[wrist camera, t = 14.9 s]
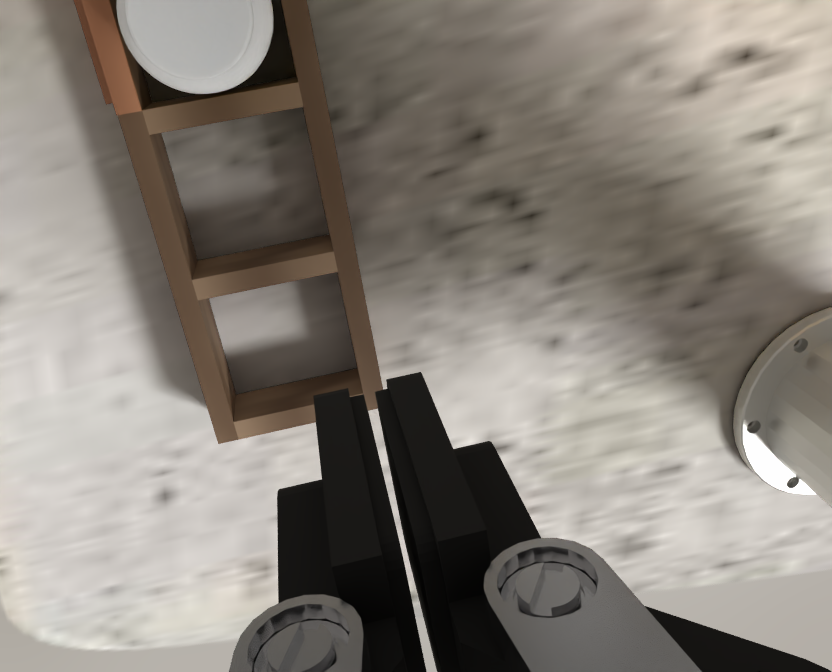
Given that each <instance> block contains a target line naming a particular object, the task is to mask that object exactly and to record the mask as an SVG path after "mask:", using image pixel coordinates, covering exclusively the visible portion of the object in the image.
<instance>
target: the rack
mask: <svg viewBox="0 0 832 672" xmlns="http://www.w3.org/2000/svg"><path fill="white" fill-rule="evenodd" d="M280 1H281V6H282V11H283V16H284V20H285V25H286V30H287V35H288V39H289V44H290V49H291V54H292V59H293V63H294V68H295V73H296V77H293V78H287V79H282V80H276V81H270V82H265V83H259V84H254V85H248V86H243V87H237V88H231V89H228V90H225V91H221V92H217V93H210V94H198V95H192V96H187V97H181V98H176V99H170V100H164V101H159V102H153V103H152V99H151V96H150V92H149V89H148V85H147V82H146V78H145V75H144V71H143V68H142V66H141V65H140V64H139V63H138V62H137V61H136V59H135V58H134V56H133V55H132V53H131V52H130V50H129V49H128V47H127V45H126V43H125V41H124V38H123V36H122V33H121V30H120V26H119V23H118V17H117V9H116V5H117V0H74V3H75V6H76V9H77V12H78V15H79V19H80V22H81V25H82V28H83V32H84V35H85V38H86V41H87V44H88V48H89V51H90V54H91V57H92V60H93V64H94V67H95V70H96V73H97V77H98V80H99V83H100V86H101V89H102V93H103V96H104V99H105V102H106V104H111V103H113V105H114V108H115V112H116V115H118V118H119V121H120V124H121V128H122V131H123V134H124V137H125V141H126V144H127V147H128V150H129V154H130V157H131V160H132V163H133V167H134V170H135V173H136V177H137V180H138V183H139V186H140V190H141V193H142V196H143V199H144V203H145V206H146V209H147V212H148V216H149V219H150V222H151V225H152V229H153V232H154V235H155V238H156V242H157V245H158V248H159V252H160V255H161V258H162V261H163V265H164V268H165V271H166V274H167V278H168V281H169V284H170V287H171V291H172V294H173V297H174V300H175V304H176V307H177V310H178V313H179V317H180V320H181V323H182V327H183V330H184V333H185V336H186V340H187V343H188V346H189V349H190V353H191V356H192V359H193V362H194V366H195V369H196V372H197V375H198V379H199V382H200V385H201V388H202V392H203V395H204V398H205V401H206V405H207V408H208V411H209V415H210V418H211V421H212V424H213V428H214V431H215V434H216V437H217V441H218V444H220V443H225V442H229V441H234V440H238V439H243V438H247V437H252V436H256V435H261V434H265V433H270V432H274V431H279V430H283V429H288V428H292V427H297V426H301V425H305V424H310V423H314V422H316V417H315V408H314V399H313V396H314V395H318V394H323V393H328V392H332V391H337V390H341V389H346V388H348V390H349V394H350V397H353V396H357V395H362V394H364V397H365V401H366V405H367V410H373V409H377V408H378V406H377V401H376V396H375V391H380V390H383V387H382V382H381V377H380V372H379V367H378V361H377V356H376V351H375V346H374V341H373V336H372V331H371V326H370V321H369V316H368V310H367V305H366V300H365V295H364V290H363V285H362V280H361V275H360V270H359V265H358V260H357V254H356V249H355V244H354V239H353V234H352V229H351V224H350V219H349V214H348V209H347V203H346V198H345V193H344V188H343V183H342V178H341V173H340V168H339V163H338V158H337V152H336V147H335V142H334V137H333V132H332V127H331V122H330V117H329V112H328V107H327V102H326V96H325V91H324V86H323V81H322V76H321V71H320V66H319V61H318V56H317V51H316V45H315V40H314V35H313V30H312V25H311V20H310V15H309V10H308V5H307V0H280ZM299 107H303V111H304V116H305V121H306V126H307V130H308V135H309V140H310V145H311V149H312V154H313V159H314V164H315V169H316V173H317V178H318V183H319V188H320V192H321V197H322V202H323V207H324V212H325V216H326V221H327V226H328V231H329V234H328V235H323V236H318V237H313V238H308V239H303V240H298V241H293V242H288V243H283V244H278V245H273V246H268V247H263V248H258V249H253V250H248V251H243V252H238V253H233V254H228V255H223V256H218V257H213V258H208V259H203V260H197V256H196V253H195V249H194V246H193V242H192V239H191V235H190V232H189V228H188V225H187V221H186V218H185V214H184V211H183V207H182V204H181V200H180V197H179V193H178V190H177V186H176V183H175V179H174V176H173V173H172V169H171V166H170V162H169V159H168V155H167V152H166V148H165V145H164V141H163V138H162V134H161V133H162V132H168V131H173V130H179V129H184V128H190V127H195V126H201V125H206V124H212V123H217V122H223V121H228V120H234V119H239V118H244V117H250V116H255V115H261V114H266V113H272V112H277V111H283V110H288V109H294V108H299ZM335 272H337V274H338V278H339V283H340V288H341V293H342V298H343V302H344V307H345V312H346V317H347V321H348V326H349V331H350V336H351V341H352V345H353V350H354V355H355V360H356V365H357V368H356V369H352V370H347V371H342V372H338V373H333V374H329V375H324V376H319V377H315V378H310V379H305V380H301V381H296V382H292V383H287V384H282V385H278V386H273V387H269V388H264V389H259V390H255V391H250V392H246V393H241V394H236V392H235V389H234V385H233V382H232V378H231V375H230V371H229V368H228V364H227V361H226V357H225V354H224V350H223V347H222V343H221V340H220V336H219V333H218V329H217V326H216V323H215V319H214V316H213V312H212V309H211V305H210V302H209V298H212V297H217V296H222V295H227V294H232V293H237V292H242V291H247V290H251V289H256V288H261V287H266V286H271V285H276V284H281V283H286V282H291V281H295V280H300V279H305V278H310V277H315V276H320V275H325V274H330V273H335Z"/></svg>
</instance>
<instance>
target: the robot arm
mask: <svg viewBox="0 0 832 672" xmlns="http://www.w3.org/2000/svg"><path fill="white" fill-rule="evenodd" d="M386 381H387V388H388V389H384V390H380V391H375V396H376V401H377V406H378V411H379V416H380V421H381V426H382V431H383V436H384V441H385V446H386V451H387V456H388V461H389V466H390V471H391V476H392V481H393V485H394V490H395V495H396V500H397V505H398V510H399V515H400V520H401V525H402V530H403V535H404V540H405V544H406V549H407V553H408V557H409V561H410V565H411V569H412V573H413V577H414V581H415V585H416V589H417V593H418V597H419V601H420V605H421V609H422V613H423V617H424V621H425V625H426V628H427V633H428V637H429V641H430V644H431V648H432V652H433V656H434V661H435V665H436V668H437V672H831V671H830V670H828V669H826V668H824V667H822V666H819V665H817V664H815V663H812V662H810V661H808V660H806V659H803V658H800V657H797V656H794V655H791V654H788V653H785V652H782V651H779V650H776V649H773V648H770V647H767V646H764V645H761V644H758V643H755V642H752V641H749V640H746V639H743V638H740V637H737V636H734V635H731V634H727V633H724V632H721V631H718V630H716V629H713V628H710V627H707V626H703V625H700V624H698V623H695V622H691V621H688V620H686V619H682V618H679V617H676V616H673V615H670V614H667V613H664V612H661V611H658V610H655V609H652V608H649V607H646V606H644V605H643V604H642V603H641V602H640V601H639V600H638V598H637V597H636V596H635V595H634V594H633V593H632V591H631V590H630V589H629V588H628V587H627V586H626V585H625V583H624V582H623V581H622V580H621V579H620V578H619V577H618V575H617V574H616V573H615V572H614V571H613V570H612V569H611V567H610V566H609V565H608V564H607V563H606V562H605V561H604V559H603V558H601V557H600V556H599V555H598V554H596V553H595V552H594V551H593V550H592V549H590V548H588V547H586V546H584V545H581V544H579V543H577V542H575V541H569V540H564V539H559V538H541V537H540V535H539V533H538V531H537V529H536V527H535V525H534V523H533V521H532V519H531V517H530V515H529V513H528V512H527V510H526V508H525V506H524V504H523V502H522V500H521V498H520V496H519V494H518V492H517V490H516V488H515V486H514V484H513V482H512V480H511V478H510V476H509V474H508V472H507V471H506V469H505V467H504V465H503V463H502V461H501V459H500V457H499V455H498V453H497V451H496V449H495V447H494V446H493V444H492V442H490V441H487V442H483V443H479V444H474V445H470V446H465V447H461V448H457V449H453V448H452V445H451V443H450V440H449V438H448V436H447V433H446V431H445V428H444V426H443V424H442V421H441V419H440V416H439V414H438V412H437V409H436V407H435V404H434V402H433V399H432V397H431V395H430V392H429V390H428V387H427V385H426V383H425V380H424V378H423V375H422V373H421V372H419V373H414V374H410V375H405V376H401V377H396V378H391V379H387V380H386ZM313 399H314V408H315V417H316V427H317V436H318V445H319V454H320V464H321V473H322V480H318V481H313V482H309V483H305V484H300V485H296V486H292V487H287V488H283V489H279V490H278V496H277V507H278V596H279V604H276V605H274V606H272V607H270V608H268V609H267V610H266V611H264V612H263V613H262V614H261V615H259V616H258V617H257V618H255V619H254V620H253V621H252V622H251V623H250V625H249V626H248V627H247V628H246V629H245V631H244V632H243V633H242V634H241V636H240V638H239V641H238V643H237V645H236V648H235V650H234V653H233V658H232V662H231V666H230V670H229V672H426V667H425V663H424V658H423V653H422V648H421V643H420V638H419V634H418V629H417V624H416V619H415V614H414V609H413V604H412V599H411V594H410V589H409V585H408V580H407V575H406V570H405V565H404V561H403V556H402V552H401V547H400V543H399V538H398V534H397V530H396V526H395V522H394V517H393V513H392V509H391V505H390V501H389V497H388V493H387V488H386V484H385V480H384V476H383V472H382V468H381V464H380V459H379V455H378V451H377V447H376V443H375V439H374V434H373V430H372V426H371V422H370V418H369V414H368V410H367V405H366V401H365V397H364V394H362V395H357V396H353V397H350V394H349V390H348V388H346V389H341V390H337V391H332V392H328V393H323V394H318V395H314V396H313ZM733 430H734V437H735V443H736V446H737V448H738V451H739V453H740V456H741V457H742V459H743V460H744V462H745V463H746V464H747V466H748V467H749V468H750V469H751V470H752V471H753V472H754V473H755V474H756V475H757V476H758V477H759V478H760V479H761V480H762V481H764V482H766V483H767V484H769V485H770V486H772V487H774V488H776V489H778V490H781V491H784V492H787V493H794V494H803V495H809V494H817V495H818V496H819V497H820V498H821V499H822V500H824V501H825V502H826V503H827V504H828V505H829V506H830V507H831V508H832V307H830V308H826V309H824V310H821V311H819V312H816V313H814V314H812V315H809V316H807V317H805V318H804V319H802V320H800V321H799V322H797V323H795V324H794V325H792V326H790V327H789V328H788V329H787V330H785V331H784V332H783V333H782V334H781V335H779V336H778V337H777V338H776V339H774V340H773V341H772V342H771V343H770V345H769V346H768V347H767V348H766V349H765V350H764V351H763V352H762V353H761V355H760V356H759V357H758V358H757V360H756V361H755V363H754V364H753V366H752V367H751V369H750V370H749V372H748V373H747V375H746V378H745V380H744V382H743V384H742V386H741V388H740V391H739V394H738V397H737V401H736V405H735V409H734V421H733Z"/></svg>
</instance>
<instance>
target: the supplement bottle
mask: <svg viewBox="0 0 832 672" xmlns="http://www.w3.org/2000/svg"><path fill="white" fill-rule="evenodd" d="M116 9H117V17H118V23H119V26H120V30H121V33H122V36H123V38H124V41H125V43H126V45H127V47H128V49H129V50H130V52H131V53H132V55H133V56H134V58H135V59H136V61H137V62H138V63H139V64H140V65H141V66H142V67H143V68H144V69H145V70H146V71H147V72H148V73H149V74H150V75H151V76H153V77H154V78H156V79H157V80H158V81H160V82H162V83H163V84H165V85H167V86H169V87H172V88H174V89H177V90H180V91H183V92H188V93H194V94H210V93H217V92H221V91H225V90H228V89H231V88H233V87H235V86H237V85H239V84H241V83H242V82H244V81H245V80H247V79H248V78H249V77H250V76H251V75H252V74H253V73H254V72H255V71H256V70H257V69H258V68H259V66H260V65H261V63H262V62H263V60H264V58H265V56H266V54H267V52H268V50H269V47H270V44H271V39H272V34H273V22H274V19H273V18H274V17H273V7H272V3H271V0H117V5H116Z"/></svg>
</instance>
